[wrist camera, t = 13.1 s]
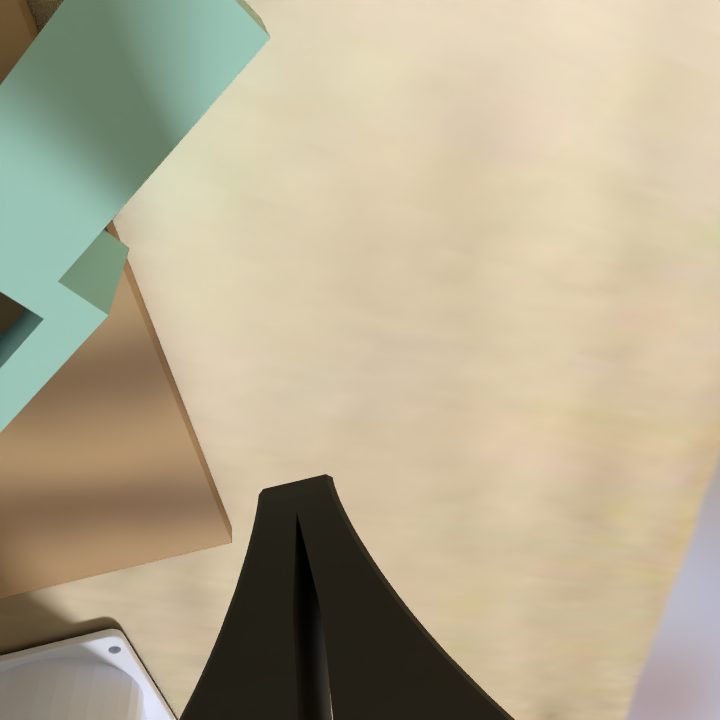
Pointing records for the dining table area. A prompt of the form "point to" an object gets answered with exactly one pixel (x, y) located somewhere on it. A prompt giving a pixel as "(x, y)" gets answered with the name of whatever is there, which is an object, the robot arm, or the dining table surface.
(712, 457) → the dining table surface
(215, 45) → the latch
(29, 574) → the board
